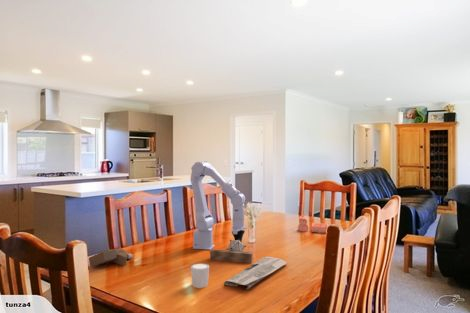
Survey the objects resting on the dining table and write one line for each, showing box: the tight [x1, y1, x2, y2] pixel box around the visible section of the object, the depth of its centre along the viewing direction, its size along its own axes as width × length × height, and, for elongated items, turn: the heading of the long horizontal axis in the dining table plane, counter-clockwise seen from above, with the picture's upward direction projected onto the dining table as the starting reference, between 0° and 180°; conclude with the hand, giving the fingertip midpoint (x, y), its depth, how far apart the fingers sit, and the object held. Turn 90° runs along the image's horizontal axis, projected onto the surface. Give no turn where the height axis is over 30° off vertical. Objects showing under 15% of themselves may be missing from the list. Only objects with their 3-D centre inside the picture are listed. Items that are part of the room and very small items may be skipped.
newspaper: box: [223, 256, 289, 290], centre depth 138 cm, size 35×12×4 cm, turn 150°
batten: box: [209, 249, 253, 264], centre depth 155 cm, size 19×2×4 cm, turn 76°
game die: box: [225, 238, 247, 252], centre depth 161 cm, size 9×8×10 cm
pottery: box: [297, 214, 329, 234], centre depth 212 cm, size 18×10×10 cm, turn 74°
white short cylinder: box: [190, 263, 210, 289], centre depth 126 cm, size 7×7×7 cm
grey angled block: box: [88, 248, 133, 267], centre depth 150 cm, size 8×13×18 cm
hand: (238, 245), depth 169 cm, fingers closed
